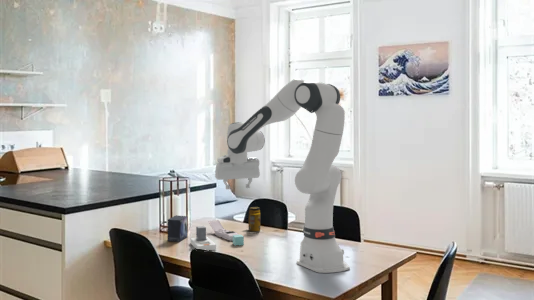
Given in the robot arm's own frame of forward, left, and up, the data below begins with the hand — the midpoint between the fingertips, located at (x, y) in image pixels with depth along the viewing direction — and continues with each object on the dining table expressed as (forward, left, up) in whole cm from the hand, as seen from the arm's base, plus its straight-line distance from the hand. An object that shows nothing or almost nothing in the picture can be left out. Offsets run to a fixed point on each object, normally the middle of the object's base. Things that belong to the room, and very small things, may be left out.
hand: (237, 188), depth 238 cm
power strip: (+2, +16, -26) cm, 30 cm away
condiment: (+24, -15, -26) cm, 38 cm away
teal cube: (0, 0, -26) cm, 26 cm away
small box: (+20, +24, -26) cm, 40 cm away
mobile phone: (+18, +2, -26) cm, 32 cm away
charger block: (+5, +16, -26) cm, 31 cm away
